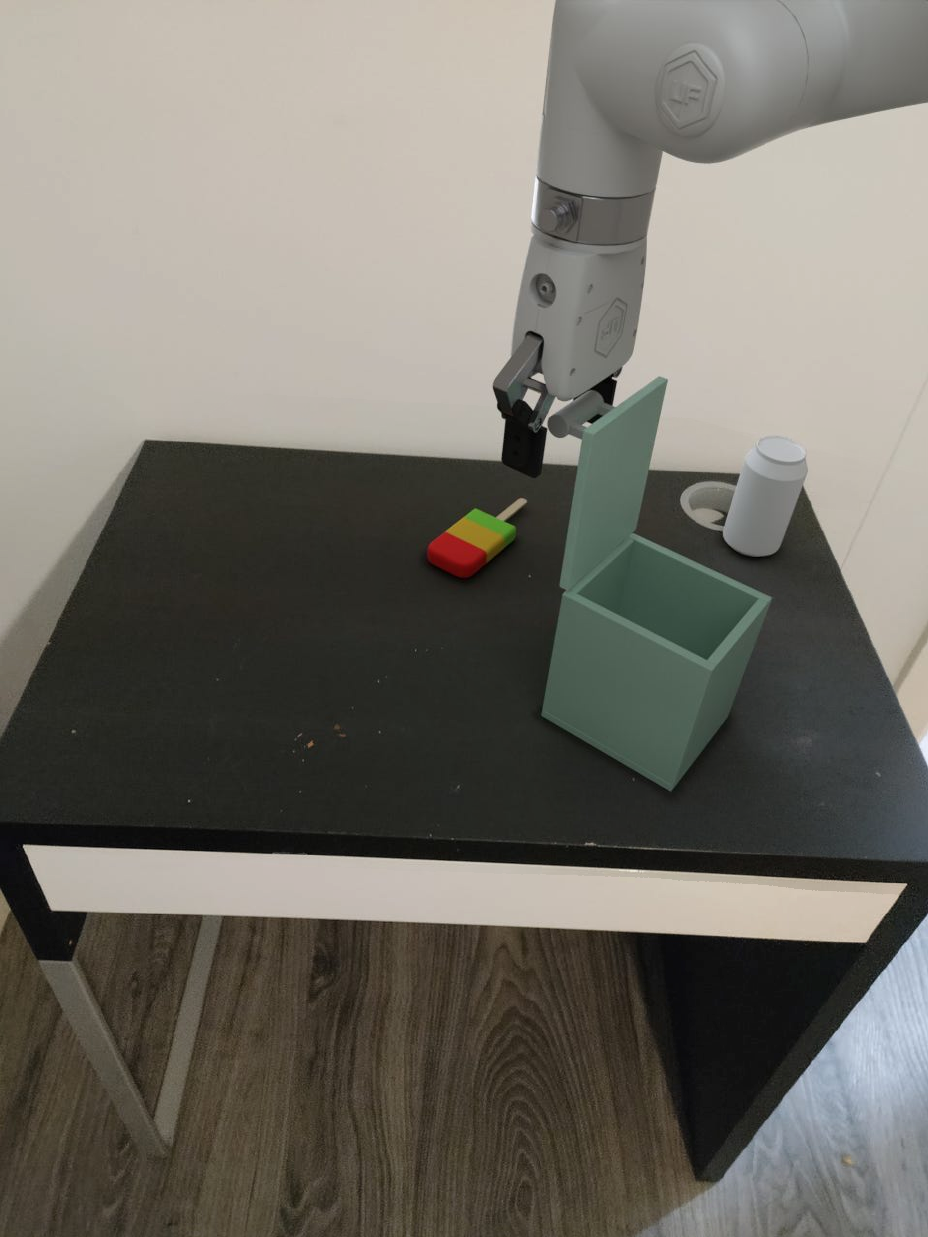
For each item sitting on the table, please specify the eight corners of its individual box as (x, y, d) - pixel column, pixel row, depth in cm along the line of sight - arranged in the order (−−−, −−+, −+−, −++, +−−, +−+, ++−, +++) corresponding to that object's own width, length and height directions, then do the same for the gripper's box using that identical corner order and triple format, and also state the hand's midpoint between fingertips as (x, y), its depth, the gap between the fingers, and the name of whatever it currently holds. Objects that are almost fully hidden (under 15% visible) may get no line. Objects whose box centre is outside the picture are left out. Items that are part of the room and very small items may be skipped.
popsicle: (421, 561, 95) (422, 546, 93) (502, 497, 104) (504, 483, 103) (465, 583, 92) (467, 568, 91) (544, 516, 102) (546, 502, 101)
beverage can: (779, 534, 102) (813, 439, 94) (777, 567, 98) (813, 470, 90) (722, 522, 103) (751, 427, 95) (718, 554, 99) (748, 457, 91)
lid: (668, 378, 68) (607, 356, 70) (593, 434, 61) (528, 407, 64) (636, 529, 77) (583, 505, 79) (567, 591, 70) (511, 563, 72)
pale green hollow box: (727, 717, 81) (772, 597, 72) (670, 792, 75) (712, 671, 65) (604, 651, 86) (631, 531, 77) (540, 715, 80) (562, 593, 71)
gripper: (567, 262, 52) (533, 513, 64) (705, 194, 63) (654, 419, 74) (461, 226, 55) (447, 472, 67) (610, 167, 66) (575, 388, 77)
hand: (556, 444), depth 70 cm, fingers open, 9 cm apart
